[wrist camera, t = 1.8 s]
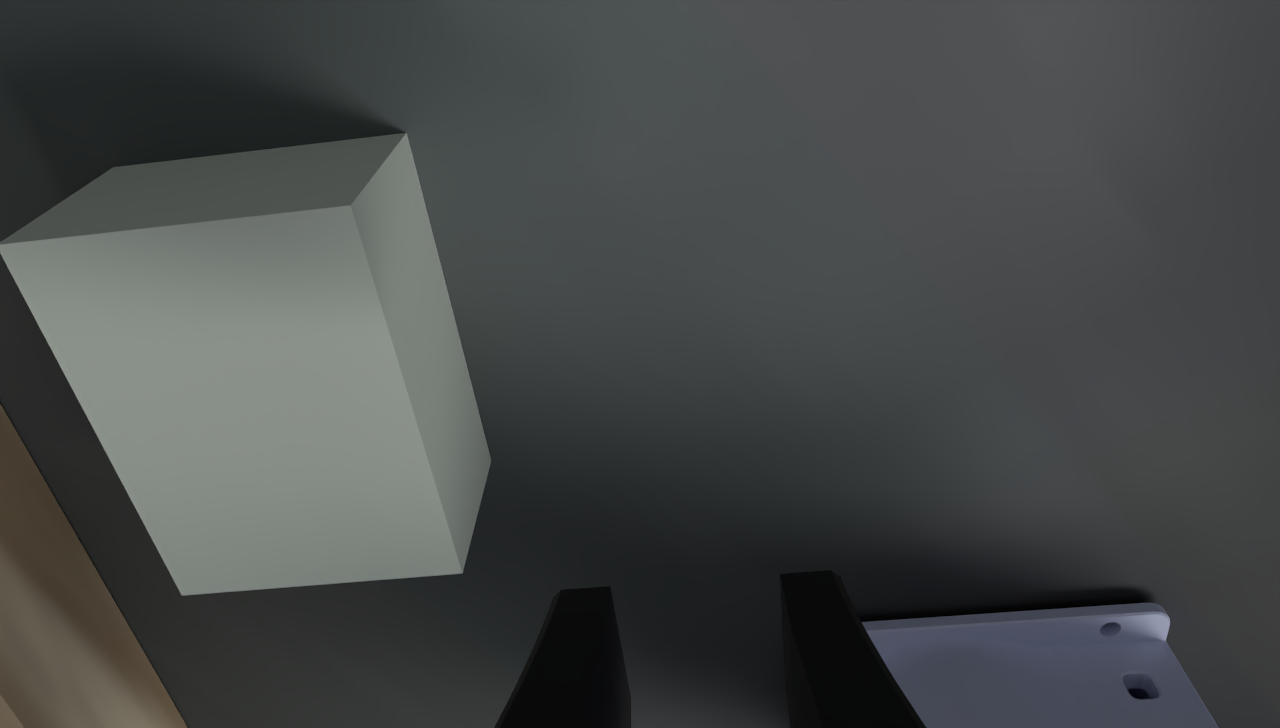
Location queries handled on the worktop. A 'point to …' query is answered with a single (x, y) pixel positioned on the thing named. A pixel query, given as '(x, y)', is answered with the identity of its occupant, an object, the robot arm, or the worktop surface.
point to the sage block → (267, 361)
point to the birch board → (62, 619)
